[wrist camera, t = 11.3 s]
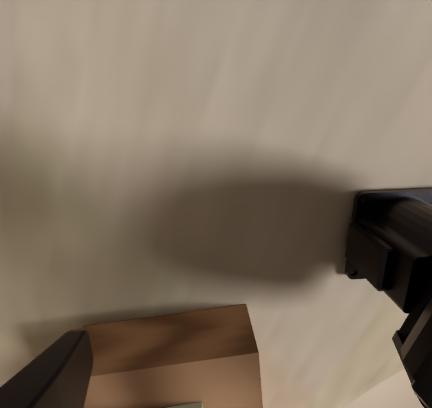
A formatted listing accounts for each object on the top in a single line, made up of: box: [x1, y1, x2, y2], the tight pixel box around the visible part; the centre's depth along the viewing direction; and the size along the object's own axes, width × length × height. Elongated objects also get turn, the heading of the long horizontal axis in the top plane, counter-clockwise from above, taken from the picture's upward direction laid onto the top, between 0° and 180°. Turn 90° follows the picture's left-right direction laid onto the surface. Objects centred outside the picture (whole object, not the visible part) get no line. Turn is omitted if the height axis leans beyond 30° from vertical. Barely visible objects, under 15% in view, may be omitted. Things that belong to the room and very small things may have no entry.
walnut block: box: [83, 304, 263, 408], centre depth 23 cm, size 12×12×5 cm
